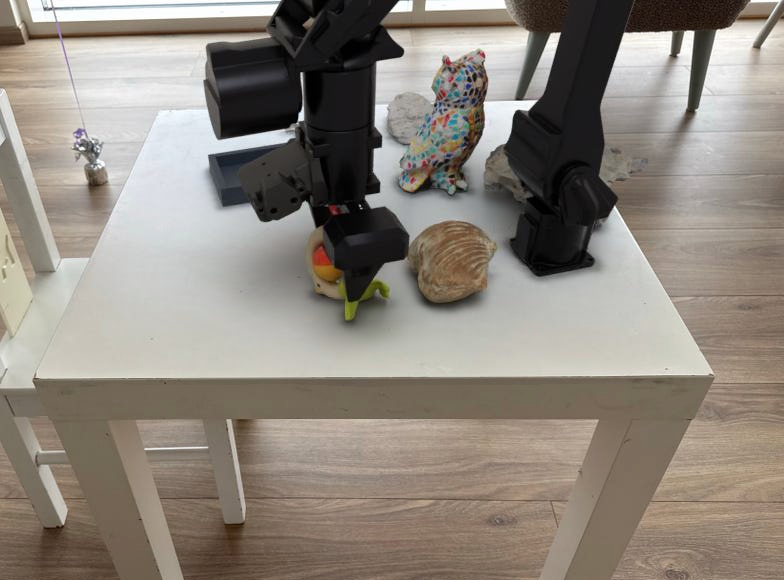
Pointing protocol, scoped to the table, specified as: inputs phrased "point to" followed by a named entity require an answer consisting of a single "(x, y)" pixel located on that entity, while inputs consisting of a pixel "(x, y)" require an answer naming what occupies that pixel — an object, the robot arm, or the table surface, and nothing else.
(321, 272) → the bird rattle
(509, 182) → the fossil rock
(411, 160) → the figurine
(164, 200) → the table surface
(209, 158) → the display tray
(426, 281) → the seashell
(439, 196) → the table surface
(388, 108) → the stone
